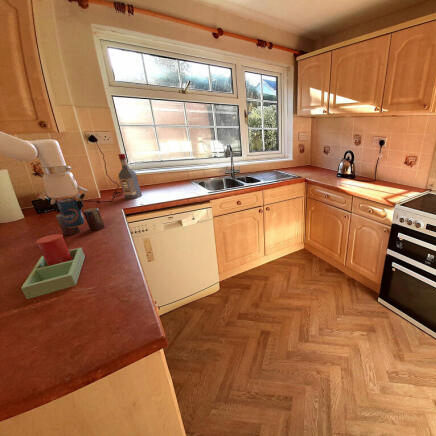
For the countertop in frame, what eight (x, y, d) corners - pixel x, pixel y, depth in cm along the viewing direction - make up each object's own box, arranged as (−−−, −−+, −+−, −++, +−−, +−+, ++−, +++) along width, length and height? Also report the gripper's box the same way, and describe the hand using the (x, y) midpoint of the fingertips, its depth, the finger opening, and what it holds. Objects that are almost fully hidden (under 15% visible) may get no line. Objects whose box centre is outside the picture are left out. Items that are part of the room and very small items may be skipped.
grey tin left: (62, 237, 114) (54, 217, 110) (65, 232, 119) (57, 213, 115) (78, 233, 117) (71, 214, 113) (80, 229, 122) (73, 211, 118)
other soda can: (48, 275, 84) (33, 244, 79) (53, 266, 89) (39, 237, 85) (73, 269, 87) (60, 239, 83) (76, 260, 92) (64, 232, 88)
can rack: (27, 300, 73) (20, 288, 71) (46, 266, 90) (41, 256, 88) (76, 286, 78) (71, 274, 77) (85, 257, 96) (81, 247, 94)
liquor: (131, 195, 178) (119, 153, 167) (143, 195, 178) (132, 153, 167) (123, 199, 170) (109, 155, 159) (135, 198, 169) (123, 154, 158)
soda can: (64, 229, 106) (54, 203, 102) (67, 224, 112) (57, 199, 107) (84, 225, 110) (75, 200, 105) (86, 221, 115) (77, 196, 111)
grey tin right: (89, 231, 119) (82, 212, 115) (90, 227, 124) (83, 209, 120) (104, 228, 122) (97, 210, 118) (105, 224, 127) (98, 206, 123)
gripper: (83, 167, 109) (95, 204, 115) (30, 171, 100) (46, 211, 107) (80, 169, 103) (93, 209, 109) (24, 174, 94) (41, 216, 101)
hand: (70, 210), depth 108 cm, fingers closed on soda can, 7 cm apart
